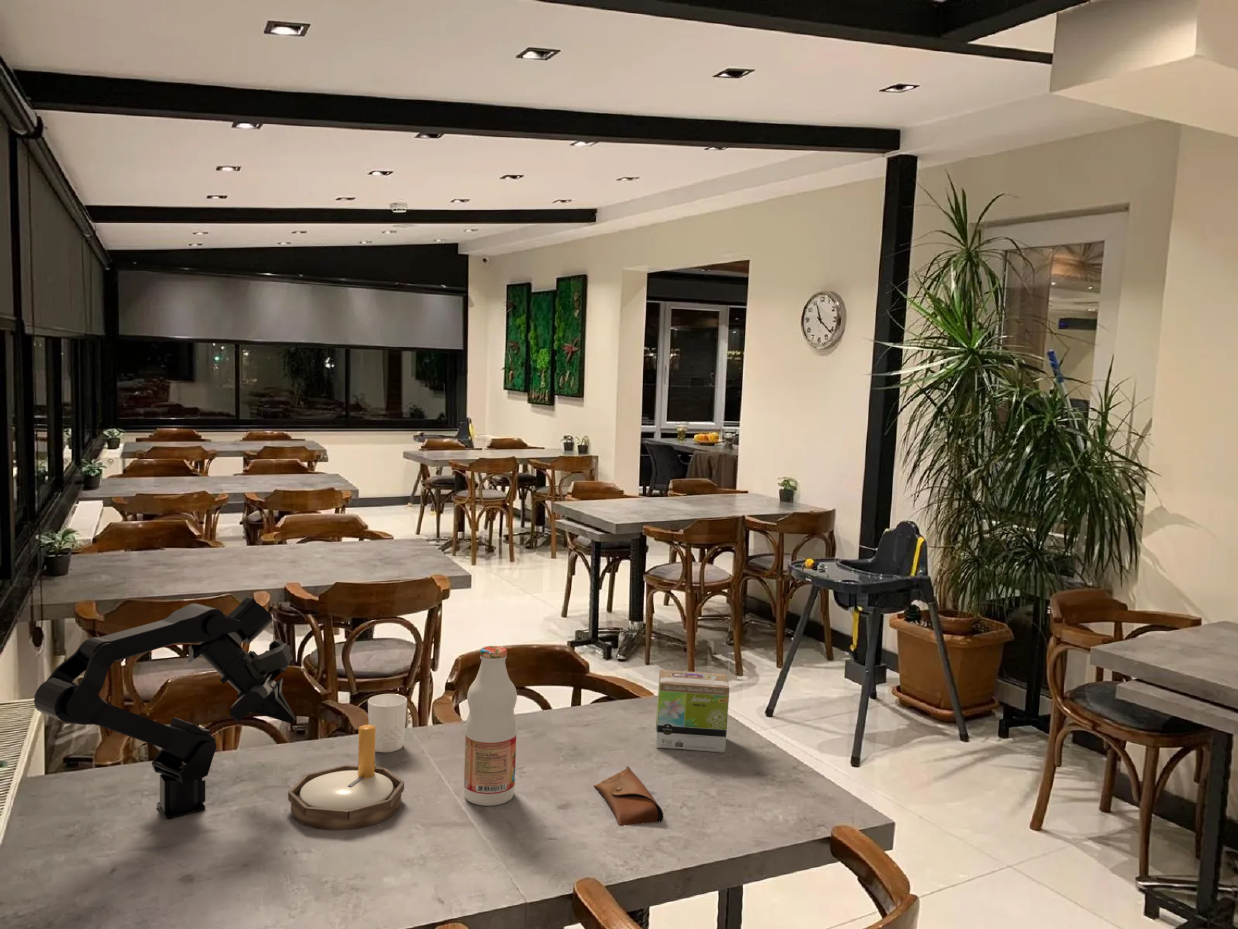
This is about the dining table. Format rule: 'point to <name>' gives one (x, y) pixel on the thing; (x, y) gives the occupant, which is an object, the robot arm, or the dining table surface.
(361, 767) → the dial
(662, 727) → the tea box
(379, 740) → the white cup
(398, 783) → the dial housing
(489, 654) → the fruit juice
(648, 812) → the sunglasses case
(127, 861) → the dining table surface
